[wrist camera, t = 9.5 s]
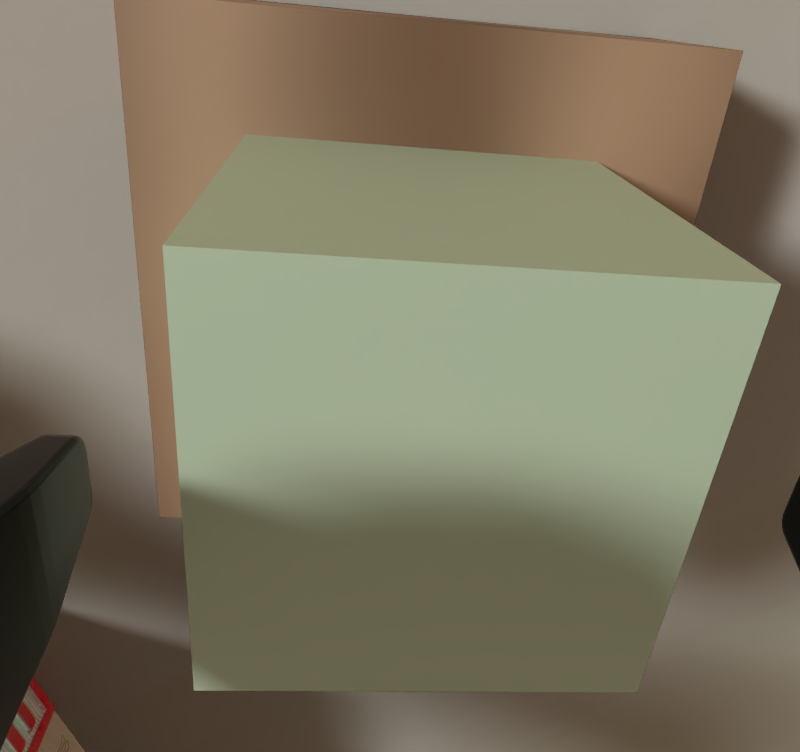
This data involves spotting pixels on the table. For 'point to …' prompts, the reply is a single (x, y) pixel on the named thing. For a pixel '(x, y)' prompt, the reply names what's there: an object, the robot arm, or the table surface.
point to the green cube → (443, 416)
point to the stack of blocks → (39, 727)
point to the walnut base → (388, 114)
